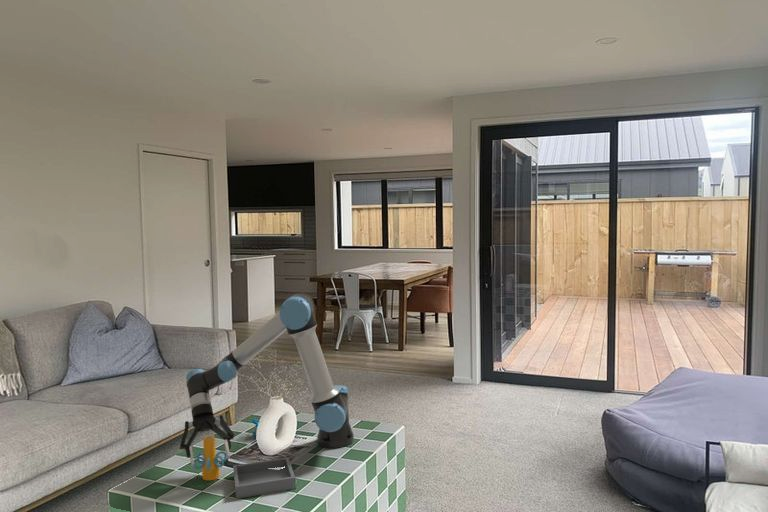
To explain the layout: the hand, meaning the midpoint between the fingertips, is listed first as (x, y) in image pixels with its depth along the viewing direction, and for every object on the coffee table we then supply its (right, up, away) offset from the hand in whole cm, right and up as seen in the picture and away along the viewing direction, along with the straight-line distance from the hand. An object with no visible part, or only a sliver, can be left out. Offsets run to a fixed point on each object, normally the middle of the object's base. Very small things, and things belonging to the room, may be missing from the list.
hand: (211, 461), depth 210 cm
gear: (+9, -4, +43) cm, 44 cm away
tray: (+19, -6, -3) cm, 21 cm away
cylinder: (-1, -7, +3) cm, 8 cm away
